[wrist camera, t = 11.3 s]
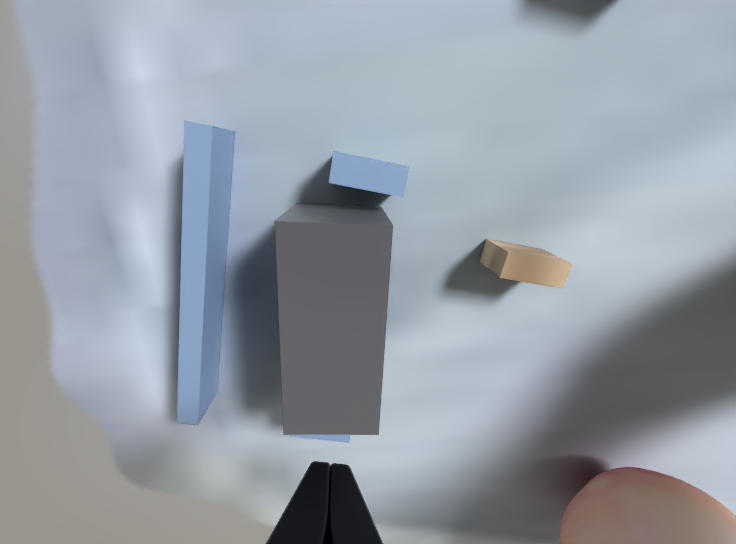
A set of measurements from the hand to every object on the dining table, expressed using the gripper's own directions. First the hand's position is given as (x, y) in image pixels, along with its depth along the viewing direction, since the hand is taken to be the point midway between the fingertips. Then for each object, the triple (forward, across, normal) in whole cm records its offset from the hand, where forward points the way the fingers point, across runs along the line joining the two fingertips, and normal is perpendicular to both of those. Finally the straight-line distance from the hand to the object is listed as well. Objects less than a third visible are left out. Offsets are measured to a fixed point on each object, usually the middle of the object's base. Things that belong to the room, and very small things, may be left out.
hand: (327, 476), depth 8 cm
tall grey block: (+11, 0, 0) cm, 11 cm away
